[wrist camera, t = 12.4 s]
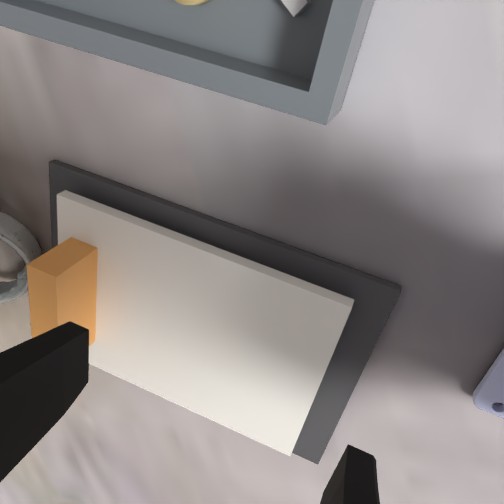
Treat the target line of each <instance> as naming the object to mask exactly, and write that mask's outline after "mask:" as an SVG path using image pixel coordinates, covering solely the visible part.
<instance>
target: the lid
mask: <svg viewBox="0 0 504 504" xmlns="http://www.w3.org/2000/svg"><path fill="white" fill-rule="evenodd" d="M57 226H58V245H57V246H56V247H54V248H52V249H51V250H49V251H48V252H46V253H44V254H43V255H41V256H40V257H38V258H36V259H35V260H33V261H31V262H30V263H28V264H27V278H28V291H29V305H30V318H31V331H32V338H34V337H36V336H38V335H40V334H43V333H45V332H47V331H49V330H51V329H53V328H56V327H58V326H60V325H62V324H65V323H67V322H69V321H71V322H73V323H76V324H78V325H80V326H82V327H85V328H87V329H89V364H91V365H93V366H95V367H97V368H99V369H101V370H104V371H106V372H108V373H110V374H112V375H115V376H117V377H119V378H121V379H123V380H125V381H128V382H130V383H132V384H134V385H136V386H138V387H141V388H143V389H145V390H147V391H149V392H151V393H154V394H156V395H158V396H160V397H162V398H164V399H167V400H169V401H171V402H173V403H175V404H177V405H180V406H182V407H184V408H186V409H188V410H190V411H193V412H195V413H197V414H199V415H201V416H203V417H206V418H208V419H210V420H212V421H214V422H216V423H219V424H221V425H223V426H225V427H227V428H229V429H232V430H234V431H236V432H238V433H240V434H243V435H245V436H247V437H249V438H251V439H253V440H256V441H258V442H260V443H262V444H264V445H266V446H269V447H271V448H273V449H275V450H277V451H279V452H282V453H284V454H286V455H288V456H291V453H292V451H293V449H294V446H295V444H296V441H297V439H298V436H299V434H300V432H301V429H302V427H303V424H304V422H305V420H306V417H307V415H308V412H309V410H310V408H311V405H312V403H313V400H314V398H315V396H316V393H317V391H318V388H319V386H320V384H321V381H322V379H323V376H324V374H325V372H326V369H327V367H328V364H329V362H330V360H331V357H332V355H333V352H334V350H335V348H336V345H337V343H338V340H339V338H340V336H341V333H342V331H343V328H344V326H345V324H346V321H347V319H348V316H349V314H350V312H351V309H352V306H353V303H354V299H352V298H349V297H346V296H344V295H341V294H338V293H336V292H333V291H331V290H328V289H325V288H323V287H320V286H317V285H315V284H312V283H309V282H307V281H304V280H302V279H299V278H296V277H294V276H291V275H288V274H286V273H283V272H280V271H278V270H275V269H272V268H270V267H267V266H265V265H262V264H259V263H257V262H254V261H251V260H249V259H246V258H243V257H241V256H238V255H236V254H233V253H230V252H228V251H225V250H222V249H220V248H217V247H214V246H212V245H209V244H207V243H204V242H201V241H199V240H196V239H193V238H191V237H188V236H185V235H183V234H180V233H178V232H175V231H172V230H170V229H167V228H164V227H162V226H159V225H156V224H154V223H151V222H148V221H146V220H143V219H141V218H138V217H135V216H133V215H130V214H127V213H125V212H122V211H119V210H117V209H114V208H112V207H109V206H106V205H104V204H101V203H98V202H96V201H93V200H90V199H88V198H85V197H83V196H80V195H77V194H75V193H72V192H69V191H67V190H65V191H63V192H61V193H58V194H57Z"/></svg>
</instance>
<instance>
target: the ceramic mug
mask: <svg viewBox="0 0 504 504" xmlns="http://www.w3.org/2000/svg"><path fill="white" fill-rule="evenodd" d="M0 239H2V240H3V241H5V242H6V243H7V244H9V245H10V246H11V247H12V248H14V249H15V250H16V251H17V253H18V254H19V255H20V256H21V257H22V258H23V260H24V262H25V263H26V265H25V267H24V269H23V270H22V271H21V272H19V273H18V274H17V278H18V279H17V280H15V281H11V282H0V303H1V302H8V301H10V300H13V299H16V298H17V297H19V296H21V295H23V294H24V293H25V292H26V291H27V290H28V278H27V264H28V263H30V262H31V261H33V260H35V259H36V258H38V257H40V256H41V249H40V246H39V243H38V242H37V240H36V238H35V237H34V236H33V234H32V233H31V232H30V231H29V230H28V229H27V227H25V226H24V225H23V224H22V223H20V222H19V221H18V220H16V219H15V218H13V217H11V216H10V215H7V214H5V213H3V212H1V211H0Z"/></svg>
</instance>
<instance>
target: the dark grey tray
mask: <svg viewBox="0 0 504 504" xmlns="http://www.w3.org/2000/svg"><path fill="white" fill-rule="evenodd" d="M373 3H374V0H0V26H3V27H6V28H10V29H13V30H16V31H20V32H23V33H26V34H29V35H33V36H36V37H39V38H42V39H46V40H49V41H52V42H55V43H59V44H62V45H65V46H69V47H72V48H75V49H78V50H82V51H85V52H88V53H91V54H95V55H98V56H101V57H104V58H108V59H111V60H114V61H118V62H121V63H124V64H127V65H131V66H134V67H137V68H140V69H144V70H147V71H150V72H154V73H157V74H160V75H163V76H167V77H170V78H173V79H176V80H180V81H183V82H186V83H189V84H193V85H196V86H199V87H203V88H206V89H209V90H212V91H216V92H219V93H222V94H225V95H229V96H232V97H235V98H239V99H242V100H245V101H248V102H252V103H255V104H258V105H261V106H265V107H268V108H271V109H274V110H278V111H281V112H284V113H288V114H291V115H294V116H297V117H301V118H304V119H307V120H310V121H314V122H317V123H320V124H324V125H327V124H328V123H329V122H330V121H331V120H332V119H333V118H334V117H335V116H336V114H337V113H338V112H339V111H340V110H341V108H342V104H343V101H344V98H345V95H346V91H347V88H348V85H349V82H350V78H351V75H352V72H353V69H354V65H355V62H356V59H357V55H358V52H359V49H360V46H361V42H362V39H363V36H364V33H365V29H366V26H367V23H368V20H369V16H370V13H371V10H372V6H373Z"/></svg>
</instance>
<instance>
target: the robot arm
mask: <svg viewBox="0 0 504 504" xmlns="http://www.w3.org/2000/svg"><path fill="white" fill-rule="evenodd" d="M88 370H89V329H87V328H85V327H82V326H80V325H78V324H76V323H73V322H71V321H69V322H67V323H65V324H62V325H60V326H58V327H56V328H53V329H51V330H49V331H47V332H45V333H43V334H40V335H38V336H36V337H34V338H32V339H30V340H27V341H25V342H23V343H21V344H19V345H17V346H14V347H12V348H10V349H8V350H5V351H3V352H1V353H0V482H1V481H2V480H3V479H4V478H5V477H6V476H7V474H8V473H9V472H10V471H11V470H12V469H13V468H14V467H15V466H16V465H17V464H18V463H19V462H20V461H21V460H22V459H23V458H24V457H25V456H26V454H27V453H28V452H29V451H30V450H31V449H32V448H33V447H34V446H35V445H36V444H37V443H38V442H39V441H40V440H41V439H42V438H43V437H44V435H45V434H46V433H47V432H48V431H49V430H50V429H51V428H52V427H53V426H54V425H55V424H56V423H57V422H58V420H59V419H60V418H61V417H62V416H63V415H64V414H65V413H66V411H67V410H68V409H69V407H70V406H71V405H72V403H73V402H74V401H75V399H76V398H77V397H78V395H79V394H80V393H81V391H82V390H83V388H84V387H85V386H86V384H87V383H88ZM473 402H474V404H475V405H476V407H478V408H479V409H481V410H484V411H486V412H489V413H491V414H494V415H496V416H499V417H501V418H504V349H503V350H502V351H501V353H500V354H499V356H498V357H497V359H496V360H495V362H494V363H493V365H492V366H491V367H490V369H489V370H488V372H487V373H486V375H485V376H484V378H483V379H482V380H481V382H480V383H479V385H478V386H477V388H476V389H475V391H474V392H473ZM497 402H499V403H502V405H494V403H497ZM320 504H380V501H379V492H378V483H377V470H376V460H375V458H374V456H373V455H371V454H369V453H366V452H364V451H362V450H360V449H357V448H355V447H353V446H351V445H348V446H347V448H346V450H345V452H344V453H343V455H342V457H341V459H340V461H339V463H338V465H337V467H336V469H335V471H334V473H333V475H332V477H331V479H330V481H329V482H328V484H327V486H326V488H325V490H324V492H323V496H322V499H321V503H320Z"/></svg>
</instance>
